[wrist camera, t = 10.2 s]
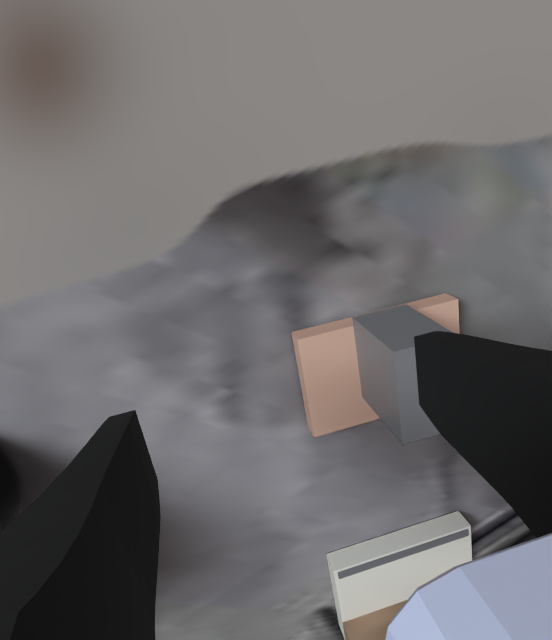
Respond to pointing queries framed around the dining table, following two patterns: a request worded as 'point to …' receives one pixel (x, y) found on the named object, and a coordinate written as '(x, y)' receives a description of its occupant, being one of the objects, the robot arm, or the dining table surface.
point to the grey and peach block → (370, 368)
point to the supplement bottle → (8, 493)
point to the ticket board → (393, 572)
